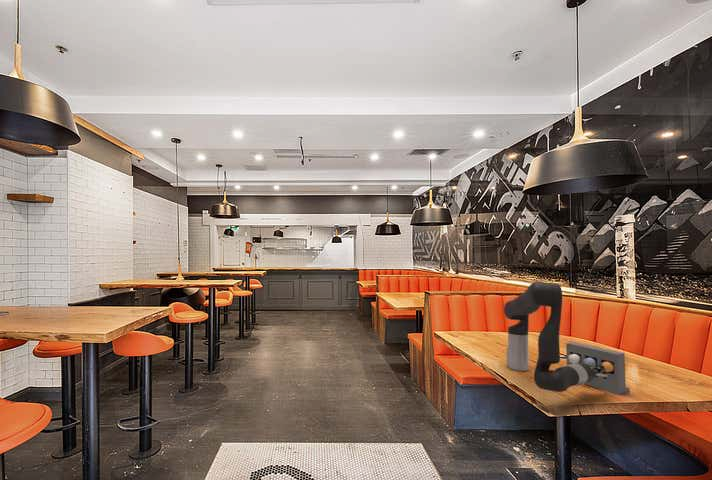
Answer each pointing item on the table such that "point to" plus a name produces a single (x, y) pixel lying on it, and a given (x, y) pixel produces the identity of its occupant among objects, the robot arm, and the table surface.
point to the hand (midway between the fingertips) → (602, 368)
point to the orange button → (608, 366)
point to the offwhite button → (575, 358)
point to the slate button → (590, 361)
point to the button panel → (614, 378)
